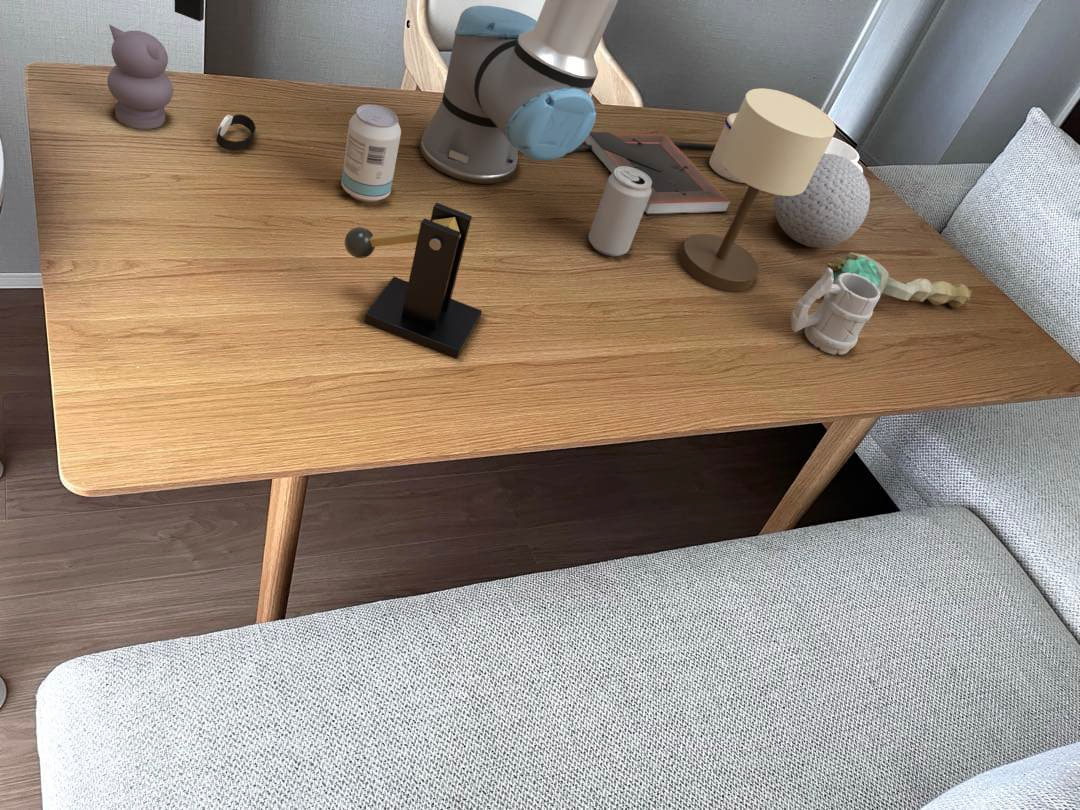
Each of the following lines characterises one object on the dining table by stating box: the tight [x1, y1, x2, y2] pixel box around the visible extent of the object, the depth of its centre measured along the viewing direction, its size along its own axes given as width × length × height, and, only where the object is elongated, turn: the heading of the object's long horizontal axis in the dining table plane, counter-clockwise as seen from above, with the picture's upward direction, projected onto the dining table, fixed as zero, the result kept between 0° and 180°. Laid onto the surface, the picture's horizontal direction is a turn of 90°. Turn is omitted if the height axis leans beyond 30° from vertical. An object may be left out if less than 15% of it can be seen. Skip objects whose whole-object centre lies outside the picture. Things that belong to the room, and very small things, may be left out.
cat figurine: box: [106, 24, 174, 130], centre depth 124 cm, size 8×8×12 cm
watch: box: [215, 113, 257, 152], centre depth 129 cm, size 8×5×4 cm, turn 169°
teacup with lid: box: [708, 112, 745, 184], centre depth 164 cm, size 12×9×12 cm
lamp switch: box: [344, 217, 461, 259], centre depth 106 cm, size 14×4×4 cm
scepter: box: [826, 252, 972, 308], centre depth 146 cm, size 9×8×30 cm
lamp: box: [679, 87, 837, 293], centre depth 132 cm, size 13×13×26 cm
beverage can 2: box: [588, 166, 652, 257], centre depth 132 cm, size 6×6×12 cm
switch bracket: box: [363, 202, 483, 359], centre depth 107 cm, size 12×9×15 cm
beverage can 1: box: [340, 104, 402, 203], centre depth 125 cm, size 7×7×12 cm
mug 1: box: [824, 136, 864, 174], centre depth 164 cm, size 11×9×10 cm
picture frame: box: [584, 131, 731, 215], centre depth 156 cm, size 16×2×22 cm
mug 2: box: [790, 267, 881, 356], centre depth 129 cm, size 8×12×12 cm, turn 102°
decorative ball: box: [773, 154, 871, 248], centre depth 150 cm, size 15×15×15 cm
